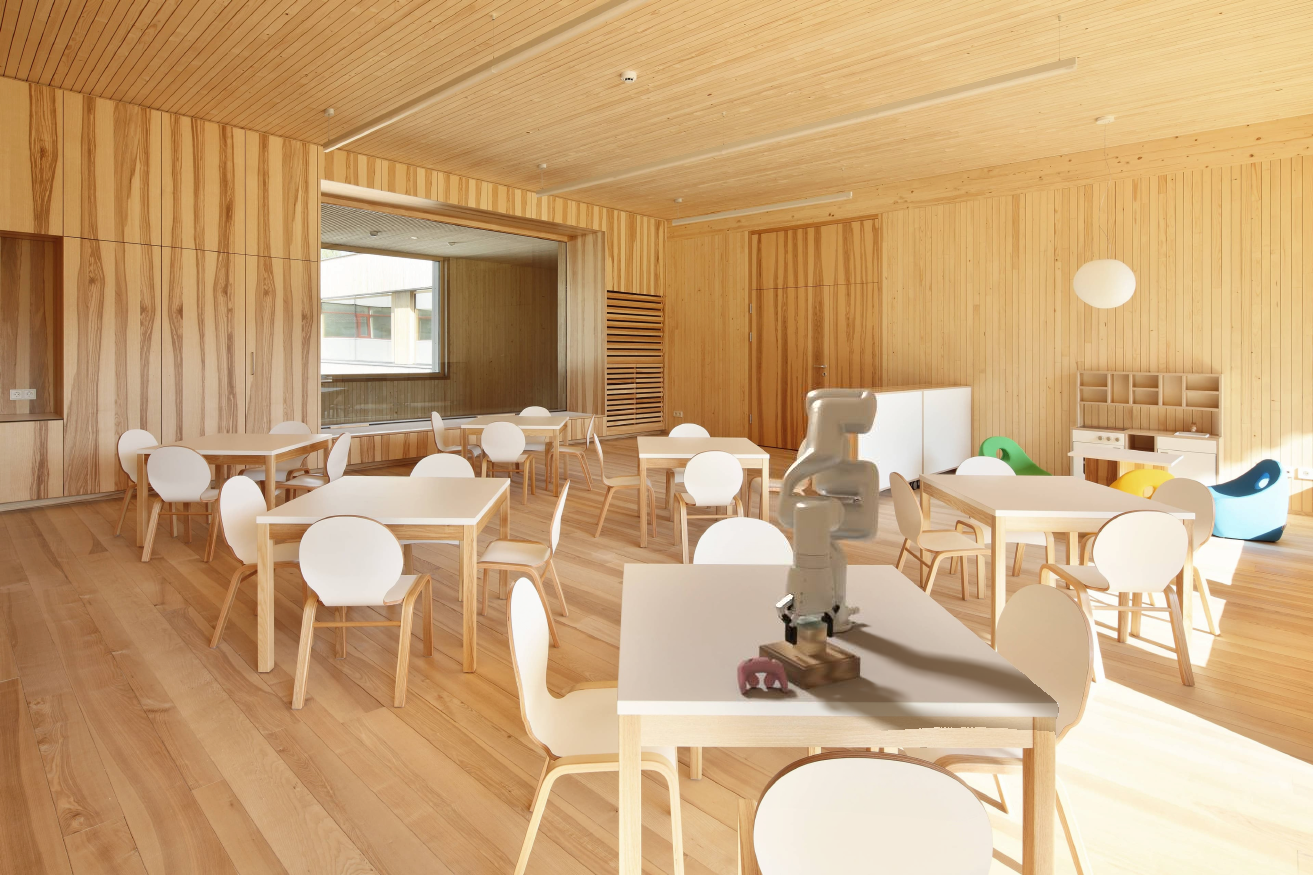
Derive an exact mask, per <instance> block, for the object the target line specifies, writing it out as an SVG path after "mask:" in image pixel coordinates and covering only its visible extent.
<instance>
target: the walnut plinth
mask: <svg viewBox="0 0 1313 875" xmlns="http://www.w3.org/2000/svg"><path fill="white" fill-rule="evenodd" d="M758 649H759V650H758V658H759V657H763V658H770V659H775V660H777V661H779V662H780V663H781V664H782V665H783V667H784V670H785V673H786V677H787V682H788V681H789V682H790V683H792V684H793V685H795V686H797V687H799V688H801V689H802V690H806V689H810V688H815V687H819V686H823V685H827V684H832V683H836V682H840V681H845V680H848V679H854V678H857V676H858V677H860V676H861V660H862V659H861V656H858V655H857V654H854V653H852V652H850V651H848V650H846V649H845V648H841V647H840V646H837V645H836V644H833V643H831V642H829V641H827V642H826V652H823V653H818V654H814V655H809V656H807V655H805V654H803V653H801V652H799V651H797V650H795V649H794V648H793V645H792V644H790V643H788V642H786V641H785V640H781V641H776V642H771V643H766V644H760V645H759V646H758Z"/></svg>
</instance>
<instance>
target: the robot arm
mask: <svg viewBox="0 0 1313 875" xmlns="http://www.w3.org/2000/svg"><path fill="white" fill-rule="evenodd" d="M805 408H806V414H807V418H808V420H807V421H808V422H807V430H806V439H805V447H804V453H803V455H801V457H799V458H798V459H797V460H796V461H795V462H793V463H792V465H791V466H790V467H789V468H788V469H787V471H786V473H785V474H784V475H783V478H782V480H781V483H780V488H779V495H778V502H777V511H776V513H777V520H778V523H780V524H781V526H783V527H784V528H787V529H793V544H792V548H793V549H792V550H793V552H792V565H791V566H789V568H788V571H787V575H786V576H787V577H786V581H785V589H784V598H783V599H782V600H781V601H779V602H778V603H777V604H776V605H775V608H774V609H775V611H776V613H777V614H778V618H780V620H781V621H782V623H783V624H784V637H785V638H784V641H786V642H788V643H790V644H792V645H796V644H797V626H795V624H796V622H797V621H798V619H802V618H808V617H813V618H815V619H818V620H820V621H822V622H825V623H827V638H829V639H832V638H833V637H834V633H842V632H846V631H849V630H851V629H852V624H853V623H852V620H850V617H851V615H853V616H855V615H859V614H860V612H861V611H860V610H861V609H860V608H859V606H851V607H849V606H848V605H847V574H848V572H847V571H848V558H847V554H846V553H845V550H844V549H843V547H842V546H841V544H840V543H839V542H840V541H848V542H860V543H868V542H873V541H874V540H875V539H876V537H877V534H878V530H879V507H880V504H879V503H880V473H879V470H878V469H879V468H878V466H877V464H875V463H874V462H873V461H871V460H863V459H851V458H850V448H851V442H850V438H849V436H848V435H847V434H850V435H865V434H866V435H867V434H868V433H869V432H870V431H872V428H873V424H874V423H875V418H876V415H877V411H878V410H877V408H878V399H877V396H876V394H875V392H874V391H873V390H871V389H868V388H835V387H834V388H817V389H814V390H812V391H809V392H808V393H807V394H806V397H805ZM810 477H813V479H814V480H813V484H814V485H813V486H814V489H815V491H816V492H817V493H818V494H819V495H820V496H819V495H809V494H808V495H806V494H794V491H795V489H796V488H797V486H798V485H799V484H800V483H801V482H803V481H804V480H806V479H808V478H810ZM822 495H823V496H822ZM835 497H838V498H839V497H841V498H855V499H858V501H859V502H849V501H848V502H846V501H845V502H844V501H840V499H838V498H835ZM838 541H839V542H838ZM786 611H787V612H786ZM800 617H801V618H800Z"/></svg>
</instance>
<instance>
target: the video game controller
mask: <svg viewBox="0 0 1313 875" xmlns="http://www.w3.org/2000/svg"><path fill="white" fill-rule="evenodd" d="M736 669H737V683H738V688H739V691H740V693H742V694H743V695H745V694H746V691H747V684H748V686H749V687H750V688H757V687H758V686H759V685H760V678H759V677H758V675H757V674H765V676H764V677H763V679H762V681H763V684H764V687H766V688H772V687H774V686H775V683H776V681H777V682H778V683H779V685H780V689H781V690H782V692H783V693H784V694H786V693H788V691H789V684H788V683H789V682H788V680H787V677H786V673H785V670H784V667H783V665H782V664H781V663H780V662H779V661H777V660H775V659H770V658H763V657H759V656H758V657H751V658H748V659H744V660H743V661H741V662H740V663H739V664H738V666H737V668H736Z"/></svg>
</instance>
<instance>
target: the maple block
mask: <svg viewBox="0 0 1313 875" xmlns="http://www.w3.org/2000/svg"><path fill="white" fill-rule="evenodd" d="M795 626H797V644H796V645H793V648H794V649H795V650H797V651H799V652H801V653H803V654H805V655H807V656H809V655H814V654H818V653H823V652H826V642H828V641H827V639H828V637H827V623H825V622H822V621H820V620H818V619H815V618H813V617H808V618H802V619H801V618H799V619H798V621H797V622H796V624H795Z"/></svg>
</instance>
